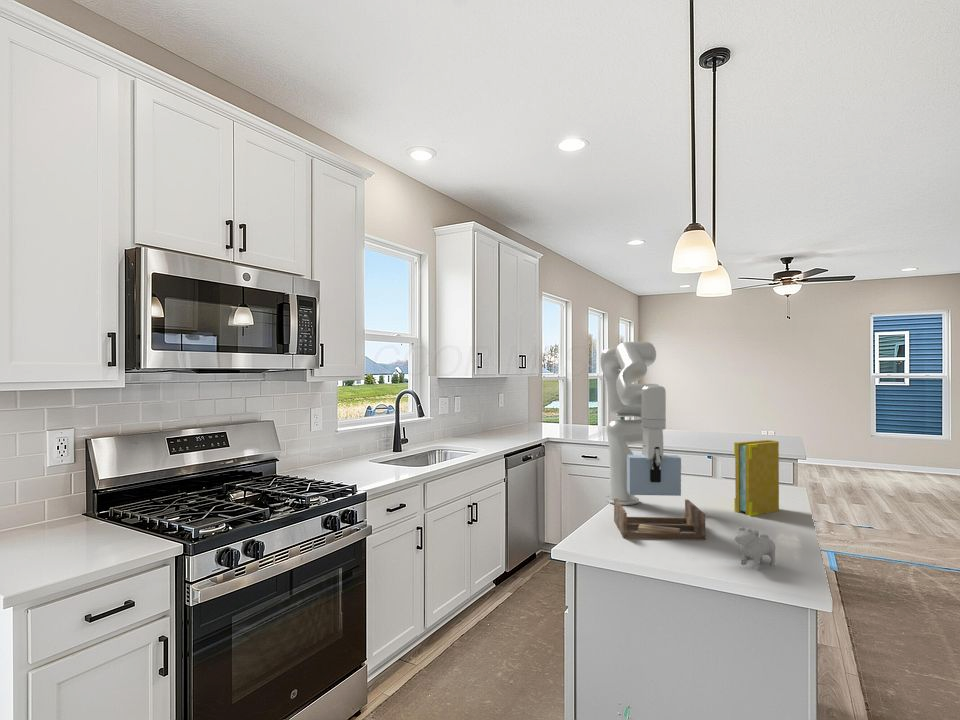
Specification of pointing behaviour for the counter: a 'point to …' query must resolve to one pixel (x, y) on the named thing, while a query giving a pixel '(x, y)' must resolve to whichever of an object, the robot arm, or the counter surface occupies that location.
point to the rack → (692, 519)
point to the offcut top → (657, 529)
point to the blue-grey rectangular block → (641, 476)
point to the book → (756, 477)
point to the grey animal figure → (755, 546)
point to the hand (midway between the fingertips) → (653, 479)
